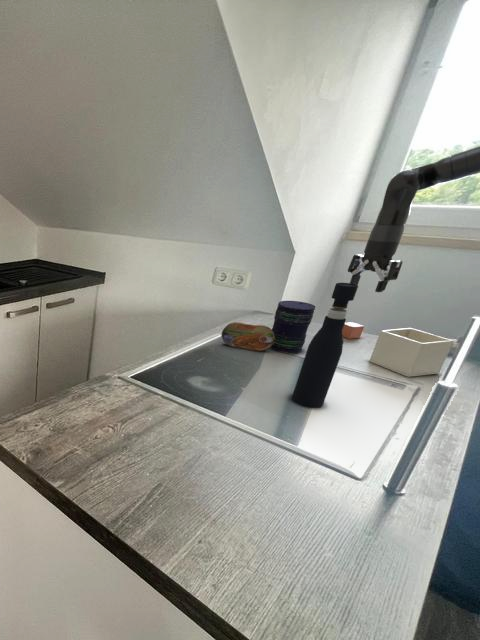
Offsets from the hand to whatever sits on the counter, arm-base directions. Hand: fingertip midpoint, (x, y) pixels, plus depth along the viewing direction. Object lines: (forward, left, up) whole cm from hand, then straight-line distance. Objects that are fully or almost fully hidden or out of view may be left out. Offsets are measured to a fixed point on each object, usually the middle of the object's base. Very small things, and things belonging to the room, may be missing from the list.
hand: (365, 288), depth 131 cm
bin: (+7, +25, -17) cm, 31 cm away
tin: (+42, +2, -17) cm, 45 cm away
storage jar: (+30, +5, -17) cm, 35 cm away
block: (0, 0, -17) cm, 17 cm away
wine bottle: (+52, +37, -17) cm, 66 cm away
